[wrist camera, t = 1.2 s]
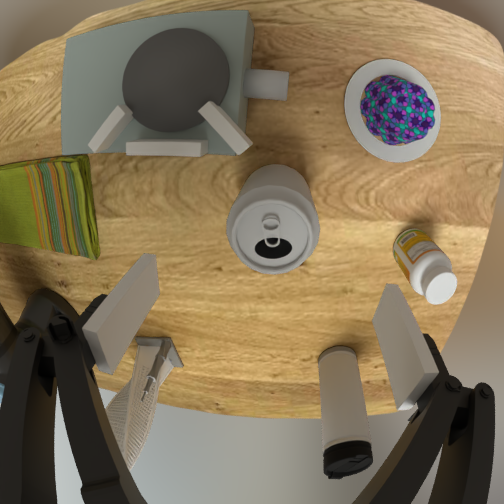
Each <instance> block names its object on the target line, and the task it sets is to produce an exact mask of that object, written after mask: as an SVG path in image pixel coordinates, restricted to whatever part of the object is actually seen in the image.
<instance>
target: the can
mask: <svg viewBox="0 0 504 504" xmlns="http://www.w3.org/2000/svg"><path fill="white" fill-rule="evenodd" d="M319 233H320V225H319V220H318V215H317V212H316V208H315V205H314V202H313V199H312V196H311V193H310V190H309V187H308V184H307V183H306V181H305V179H304V178H303V176H302V175H301V174H299V173H298V172H297V171H296V170H295V169H293V168H290V167H288V166H286V165H279V164H271V165H267V166H262V167H261V168H259V169H257V170H256V171H254V172H253V173H252V174H251V175H250V176H249V178H248V179H247V180H246V182H245V184H244V185H243V187H242V189H241V191H240V193H239V195H238V196H237V198H236V200H235V202H234V204H233V206H232V207H231V210H230V213H229V215H228V218H227V233H226V234H227V237H228V240H229V243H230V246H231V248H232V249H233V250H234V252H235V253H236V255H237V256H238V257H239V259H240V260H241V261H242V262H243V263H244V264H245V265H247V266H248V267H249V268H251V269H253V270H255V271H258V272H261V273H264V274H281V273H286V272H289V271H291V270H293V269H295V268H297V267H298V266H299V265H301V264H302V263H303V262H304V261H305V260H306V259H307V258H308V257H309V256H310V255H311V254H312V253H313V251H314V249H315V247H316V245H317V243H318V239H319Z"/></svg>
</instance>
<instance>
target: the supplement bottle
mask: <svg viewBox="0 0 504 504" xmlns="http://www.w3.org/2000/svg"><path fill="white" fill-rule="evenodd" d="M393 255H394V258H395V260H396V262H397V263H398V265H399V267H400V268H401V270H402V271H403V273H404V274H405V276H406V278H407V279H408V281H409V283H410V284H411V286H412V288H413V289H414V290H415V291H416V292H417V293H419V294H421V295H424V296H425V297H426V299H427V301H428V302H430V303H431V304H441V303H443V302H445V301H447V300H448V299H449V298H450V297H451V296H452V295H453V293H454V292H455V290H456V287H457V278H456V276H455V275H454V273H453V272H452V265H451V262H450V260H449V258H448V257H447V256H446V254H445V253H444V252H443V251H442V250H441V249H440V248H439V247H438V246H437V245H436V244H435V243H434V242H433V241H432V240H431V239H430V237H429V236H428V235H427V234H426V233H424V232H423V231H422V230H419V229H409V230H406V231H404V232H403V233H401V234H400V235H399V236H398V238H397V239H396V241H395V243H394V247H393Z"/></svg>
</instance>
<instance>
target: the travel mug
mask: <svg viewBox="0 0 504 504" xmlns="http://www.w3.org/2000/svg"><path fill="white" fill-rule="evenodd" d="M318 368H319V382H320V398H321V416H322V438H323V439H322V440H323V457H324V460H323V461H324V474H325V475H327V476H328V478H329V479H341V478H343V477H345V476H349V475H353V474H357V473H359V472H361V471H363V470H365V469H367V468H368V467H369V466H370V465H371V464H372V463H373V456H372V451H371V438H370V431H369V424H368V418H367V411H366V405H365V400H364V394H363V388H362V383H361V378H360V373H359V368H358V363H357V358H356V354H355V352H354V351H353V350H352V349H351V348H348V347H345V346H337V347H332V348H329V349H327V350H326V351H324V352H323V353H322V354H321V355H320V357H319V359H318Z"/></svg>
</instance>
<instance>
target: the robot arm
mask: <svg viewBox="0 0 504 504" xmlns="http://www.w3.org/2000/svg"><path fill="white" fill-rule="evenodd" d="M159 295H160V291H159V282H158V273H157V262H156V255H154V254H147V253H144V254H143V255H142V256H141V257H140V258H139V259H138V260H137V262H136V263H135V264H134V265H133V266H132V267H131V268H130V270H129V271H128V272H127V273H126V274H125V275H124V277H123V278H122V279H121V280H120V281H119V283H118V284H117V285H116V286H115V287H114V289H113V290H112V291H111V292H110V293H109V295H105V294H101V295H100V296H98V297H96V298H95V299H94V300H93V301H92V302H91V303H90V305H89V306H88V307H87V308H86V309H85V312H83V313H82V314H81V315H80V317H79V316H78V314H77V313H76V312H75V310H74V309H73V308H72V307H71V306H70V305H69V304H68V303H67V302H66V301H65V300H64V299H63V298H62V297H60V296H59V295H58V294H56V293H54V292H52V291H50V290H48V289H42V288H41V289H37V290H36V291H35V292H34V293H33V294H32V295H31V296H30V297H29V298H28V300H27V303H26V306H25V308H24V310H23V312H22V314H21V316H20V319H19V320H18V322H17V323H16V324H15V325H14V324H13V323H12V321H11V320H10V318H9V316H8V315H7V313H6V311H5V310H4V308H3V306H2V305H1V303H0V403H1V407H0V504H57V494H56V482H55V463H54V428H55V407H56V394H57V386H58V391H59V398H60V403H61V408H62V413H63V417H64V422H65V426H66V430H67V435H68V438H69V442H70V446H71V449H72V453H73V456H74V459H75V463H76V466H77V469H78V472H79V475H80V478H81V480H82V488H81V495H82V498H83V501H84V503H85V504H147V502H146V501H145V500H144V498H143V497H142V495H141V493H140V492H139V490H138V488H137V486H136V484H135V482H134V480H133V478H132V476H131V473H130V471H129V469H128V467H127V465H126V463H125V460H124V458H123V456H122V453H121V451H120V449H119V446H118V444H117V441H116V439H115V436H114V433H113V431H112V428H111V425H110V423H109V420H108V417H107V414H106V411H105V408H104V405H103V402H102V399H101V395H100V392H99V389H98V385H97V382H96V378H95V375H94V372H93V369H92V368H93V366H94V364H95V363H96V365H97V367H98V369H99V371H102V372H105V373H108V374H111V375H113V373H114V371H115V370H116V368H117V366H118V364H119V362H120V361H121V359H122V357H123V355H124V354H125V352H126V350H127V348H128V347H129V345H130V343H131V341H132V340H133V338H134V336H135V335H136V333H137V331H138V329H139V328H140V326H141V324H142V323H143V321H144V319H145V318H146V316H147V314H148V313H149V311H150V309H151V308H152V306H153V304H154V303H155V301H156V300H157V298H158V296H159ZM372 322H373V325H374V328H375V331H376V335H377V338H378V341H379V344H380V348H381V351H382V355H383V358H384V362H385V365H386V369H387V372H388V376H389V380H390V384H391V387H392V391H393V395H394V399H395V403H396V408H397V410H408V409H411V408H412V407H413V406H414V404H415V403H416V402H417V405H418V409H417V410H416V412H415V413H414V414H413V415H412V416H411V417H410V418H409V420H408V421H410V422H409V424H408V426H407V427H406V429H405V431H404V432H403V434H402V436H401V437H400V439H399V441H398V442H397V444H396V445H395V447H394V448H393V450H392V451H391V453H390V455H389V456H388V457H387V459H386V460H385V462H384V463H383V465H382V466H381V467H380V469H379V470H378V472H377V473H376V474H375V476H374V477H373V478H372V480H371V481H370V482H369V484H368V485H367V486H366V487H365V489H364V490H363V491H362V492H361V494H360V495H359V496H358V497H357V498H356V500H355V501H354V502H353V503H352V504H411V502H412V501H413V499H414V497H415V496H416V494H417V493H418V491H419V489H420V487H421V485H422V484H423V482H424V480H425V479H426V477H427V475H428V473H429V471H430V469H431V467H432V465H433V463H434V461H435V459H436V457H437V455H438V453H439V451H440V449H441V447H442V444H443V447H442V453H441V457H440V462H439V466H438V470H437V474H436V478H435V482H434V485H433V489H432V493H431V496H430V499H429V502H428V504H487V499H488V493H489V488H490V481H491V474H492V464H493V455H494V439H495V396H494V392H493V390H492V388H491V387H490V386H489V385H488V384H486V383H482V382H481V383H478V384H477V385H476V387H475V388H474V389H471V388H466V387H463V386H462V384H461V382H460V381H459V380H458V379H457V378H456V377H454V376H451V375H449V373H448V371H447V368H446V366H445V364H444V361H443V359H442V357H441V355H440V352H439V350H438V349H437V346H436V344H435V342H434V340H433V339H432V338H431V337H430V336H429V335H428V334H422V332H421V330H420V328H419V326H418V323H417V321H416V319H415V317H414V315H413V313H412V311H411V309H410V307H409V305H408V303H407V301H406V299H405V297H404V295H403V293H402V292H401V290H400V288H399V286H398V285H396V284H387V283H386V286H385V289H384V291H383V294H382V297H381V299H380V302H379V305H378V307H377V310H376V312H375V315H374V317H373V319H372Z"/></svg>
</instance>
